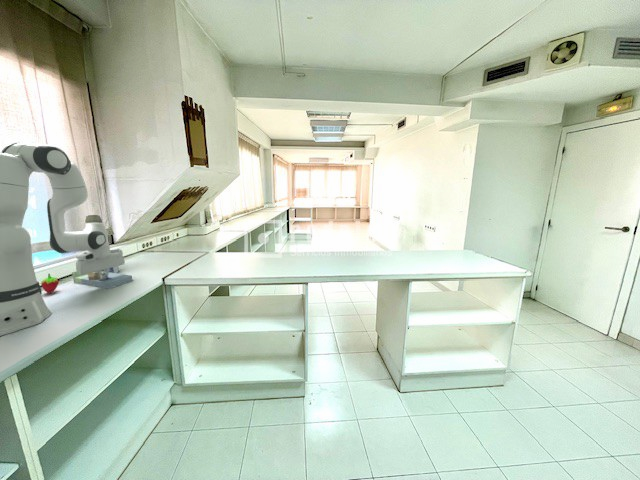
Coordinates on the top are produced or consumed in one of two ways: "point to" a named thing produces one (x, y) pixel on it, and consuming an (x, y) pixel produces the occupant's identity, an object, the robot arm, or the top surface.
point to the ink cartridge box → (113, 269)
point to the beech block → (94, 276)
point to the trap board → (102, 280)
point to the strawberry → (49, 284)
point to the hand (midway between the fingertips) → (104, 277)
